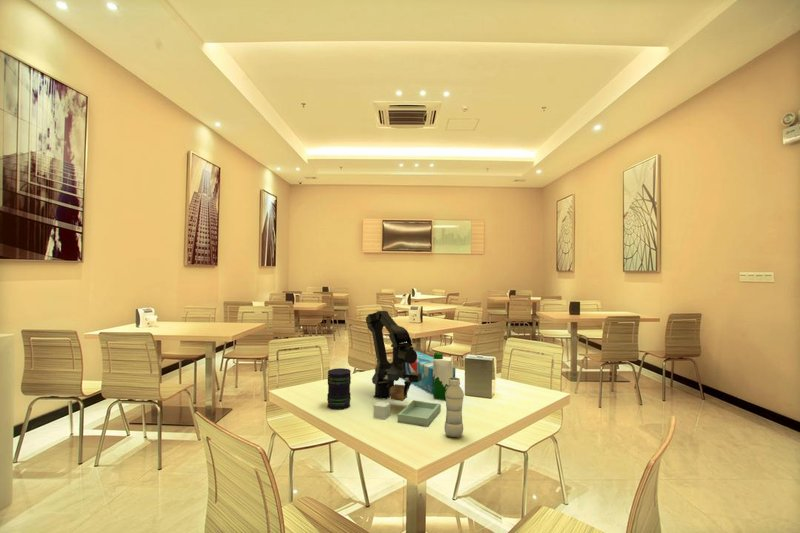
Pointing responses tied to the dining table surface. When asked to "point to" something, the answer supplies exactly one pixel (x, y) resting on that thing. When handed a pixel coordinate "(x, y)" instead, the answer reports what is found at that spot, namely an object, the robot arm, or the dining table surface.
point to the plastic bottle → (454, 408)
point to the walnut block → (397, 392)
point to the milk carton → (441, 375)
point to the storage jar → (339, 389)
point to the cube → (382, 410)
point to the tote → (419, 413)
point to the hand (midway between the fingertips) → (398, 395)
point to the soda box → (423, 371)
